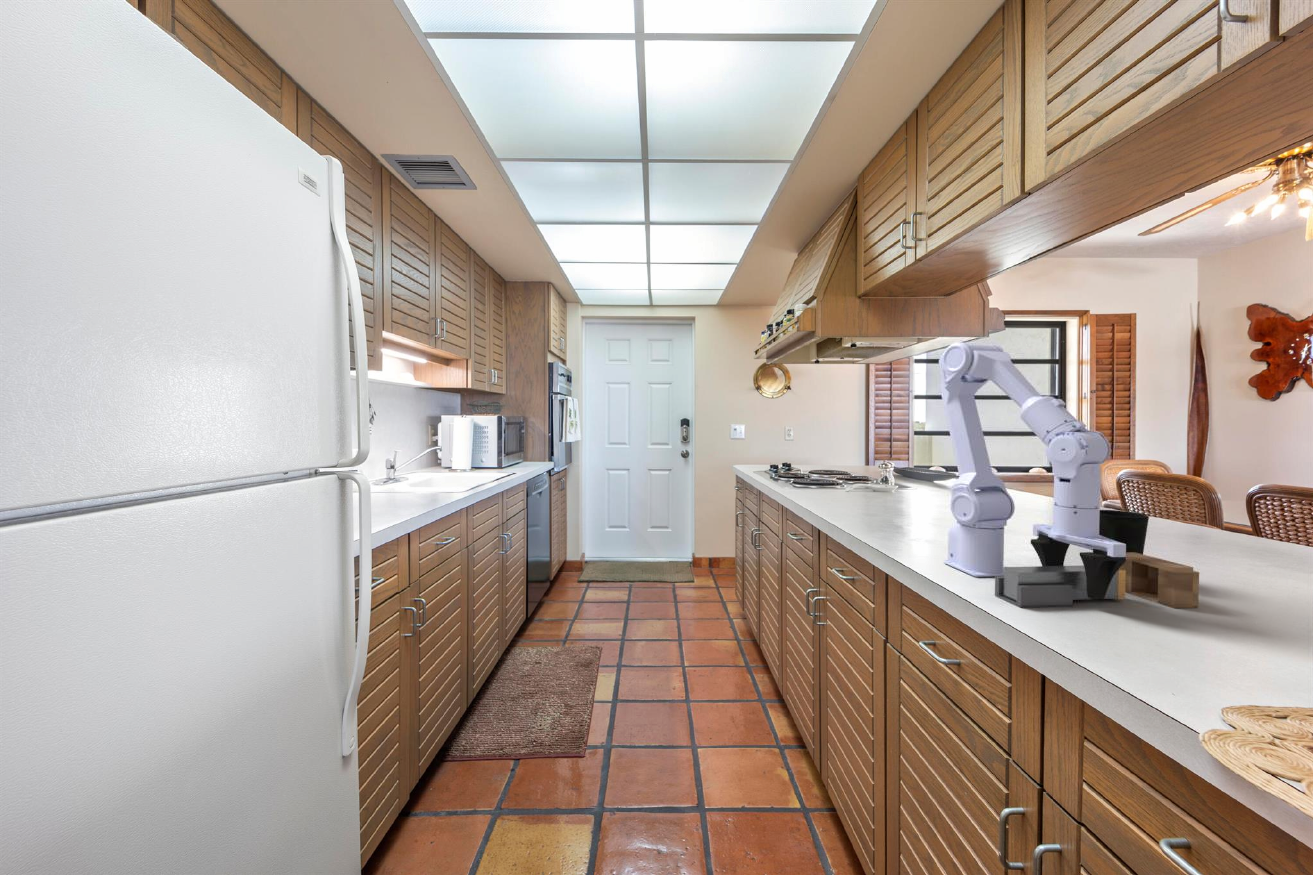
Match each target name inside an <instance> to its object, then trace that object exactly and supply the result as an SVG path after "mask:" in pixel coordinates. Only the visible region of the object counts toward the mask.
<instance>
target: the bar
mask: <svg viewBox="0 0 1313 875" xmlns="http://www.w3.org/2000/svg"><path fill="white" fill-rule="evenodd" d="M1003 569H1004V582H1003V595H1005V596H1008V597H1010V598H1012V599H1014V600H1016V601H1017V586H1019V585H1062V584H1069V585H1071V586H1073V600H1074V601H1075V600H1076V601H1077V600H1092V599H1091V598H1088V595H1087V586H1086V573H1085V568H1084V565H1064V566H1042V565H1041V566H1003ZM1125 579H1126V570H1124V569H1120V568H1119V569H1118V571H1117V572H1116V573H1115V575H1114V577H1113V578H1112V580H1111V582H1110V584H1109V587H1108V589H1107V592H1106V595H1105V597H1104V599H1103V600H1106V599H1107V600H1108V599H1109V600H1110V599H1118V600H1125V599H1126V592H1125ZM1073 600H1072V601H1073Z"/></svg>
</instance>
